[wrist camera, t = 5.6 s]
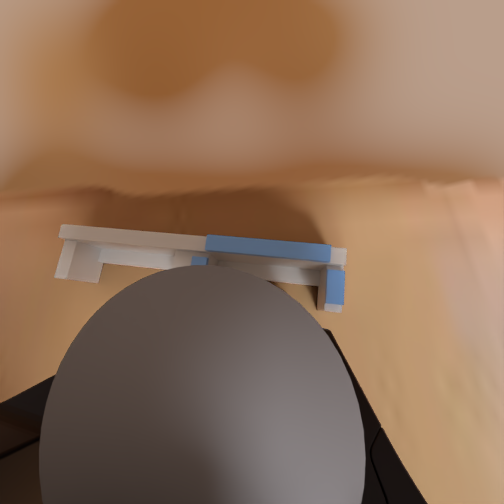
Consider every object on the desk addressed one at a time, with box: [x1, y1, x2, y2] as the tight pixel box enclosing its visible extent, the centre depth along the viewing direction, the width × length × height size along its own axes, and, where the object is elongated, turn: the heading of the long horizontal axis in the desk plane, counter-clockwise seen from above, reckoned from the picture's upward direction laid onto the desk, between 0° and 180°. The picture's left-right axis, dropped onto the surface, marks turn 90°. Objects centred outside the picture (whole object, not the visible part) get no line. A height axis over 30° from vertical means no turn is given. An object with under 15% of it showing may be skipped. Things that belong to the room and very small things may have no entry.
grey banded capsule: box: [39, 265, 366, 504], centre depth 10 cm, size 5×5×13 cm
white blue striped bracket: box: [54, 224, 347, 313], centre depth 17 cm, size 20×4×4 cm, turn 83°
